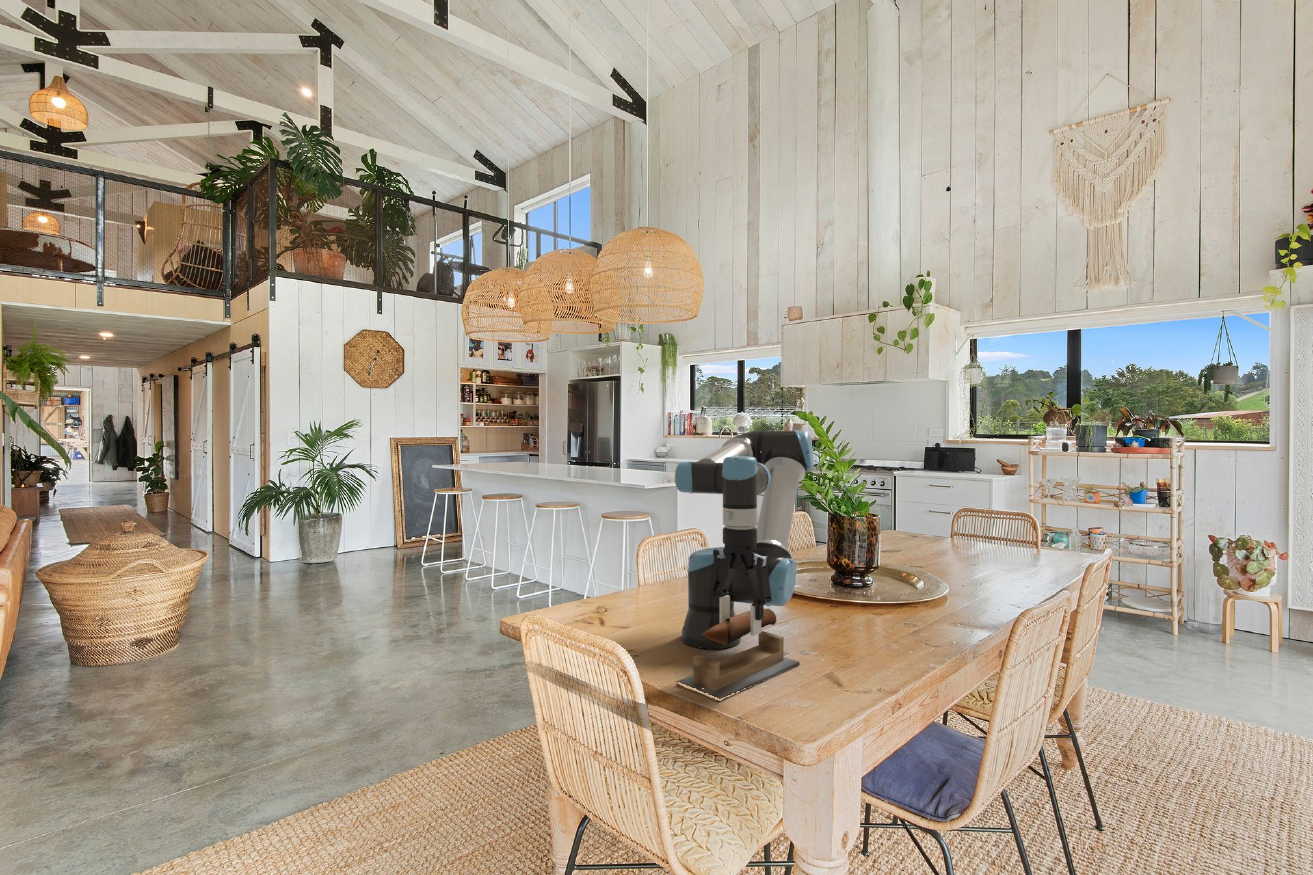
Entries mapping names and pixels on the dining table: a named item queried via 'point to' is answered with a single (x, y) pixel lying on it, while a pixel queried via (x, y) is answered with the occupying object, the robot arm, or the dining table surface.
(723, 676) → the case stand
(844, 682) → the dining table surface
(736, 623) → the sunglasses case
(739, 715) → the dining table surface
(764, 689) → the dining table surface
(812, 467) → the robot arm
